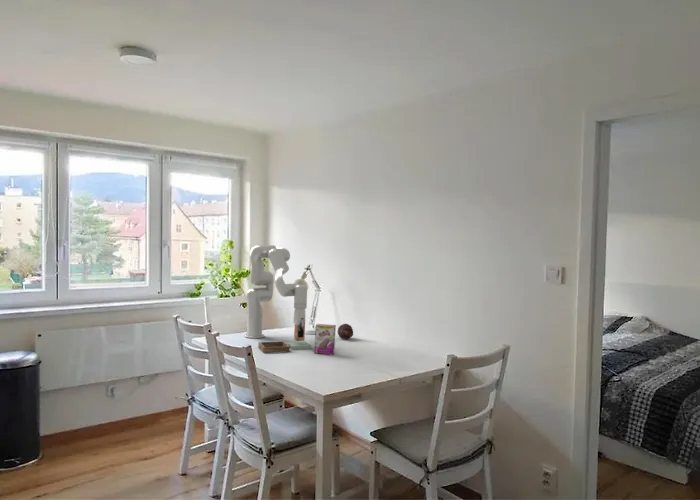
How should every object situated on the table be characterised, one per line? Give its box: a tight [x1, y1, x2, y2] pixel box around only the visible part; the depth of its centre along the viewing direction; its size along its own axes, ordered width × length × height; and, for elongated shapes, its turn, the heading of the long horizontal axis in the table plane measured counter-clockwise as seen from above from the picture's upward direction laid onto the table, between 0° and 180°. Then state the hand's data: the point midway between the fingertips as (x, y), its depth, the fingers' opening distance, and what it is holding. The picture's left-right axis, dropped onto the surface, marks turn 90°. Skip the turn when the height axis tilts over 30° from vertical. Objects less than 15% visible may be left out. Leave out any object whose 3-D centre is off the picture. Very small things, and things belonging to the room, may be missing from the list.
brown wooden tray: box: [257, 341, 291, 354], centre depth 302 cm, size 15×15×3 cm
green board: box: [286, 340, 313, 351], centre depth 312 cm, size 12×12×2 cm
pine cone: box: [336, 323, 354, 340], centre depth 342 cm, size 18×10×10 cm, turn 20°
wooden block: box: [293, 324, 306, 342], centre depth 311 cm, size 5×5×10 cm
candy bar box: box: [314, 323, 337, 355], centre depth 297 cm, size 11×5×16 cm, turn 84°
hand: (299, 336), depth 311 cm, fingers closed on wooden block, 5 cm apart
